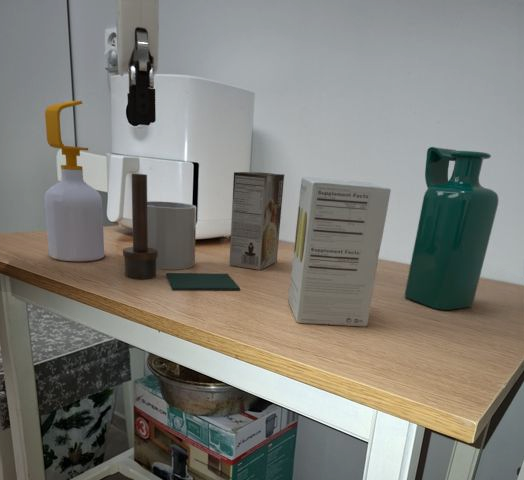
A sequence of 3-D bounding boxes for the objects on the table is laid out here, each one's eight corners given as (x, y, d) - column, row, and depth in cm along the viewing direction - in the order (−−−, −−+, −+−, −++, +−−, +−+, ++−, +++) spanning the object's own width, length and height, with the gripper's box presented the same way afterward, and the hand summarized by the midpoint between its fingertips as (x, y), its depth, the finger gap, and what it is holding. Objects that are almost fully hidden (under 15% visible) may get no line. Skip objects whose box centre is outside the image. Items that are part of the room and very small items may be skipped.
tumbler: (141, 269, 80) (140, 206, 76) (138, 257, 88) (137, 200, 84) (198, 270, 83) (200, 209, 79) (190, 258, 91) (191, 203, 87)
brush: (123, 279, 73) (120, 173, 67) (123, 271, 78) (120, 171, 72) (159, 279, 74) (159, 176, 69) (156, 271, 79) (156, 174, 73)
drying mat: (172, 290, 70) (172, 287, 69) (166, 275, 78) (166, 272, 77) (240, 290, 72) (240, 288, 72) (227, 275, 80) (227, 273, 80)
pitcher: (478, 307, 74) (517, 152, 66) (442, 312, 70) (479, 148, 62) (427, 290, 82) (457, 150, 74) (392, 294, 78) (419, 145, 69)
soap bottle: (114, 259, 85) (109, 103, 76) (64, 264, 79) (52, 94, 70) (88, 250, 91) (80, 103, 81) (39, 254, 84) (25, 95, 75)
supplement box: (286, 301, 69) (299, 176, 62) (350, 305, 70) (369, 181, 63) (296, 324, 60) (312, 180, 54) (368, 327, 61) (393, 186, 55)
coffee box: (246, 257, 96) (252, 171, 90) (277, 262, 94) (285, 174, 88) (227, 265, 88) (233, 171, 82) (261, 270, 86) (268, 174, 80)
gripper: (107, -11, 68) (113, 123, 75) (105, -56, 53) (113, 118, 59) (161, -2, 70) (162, 127, 77) (175, -43, 55) (175, 123, 61)
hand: (141, 123), depth 68 cm, fingers open, 9 cm apart
